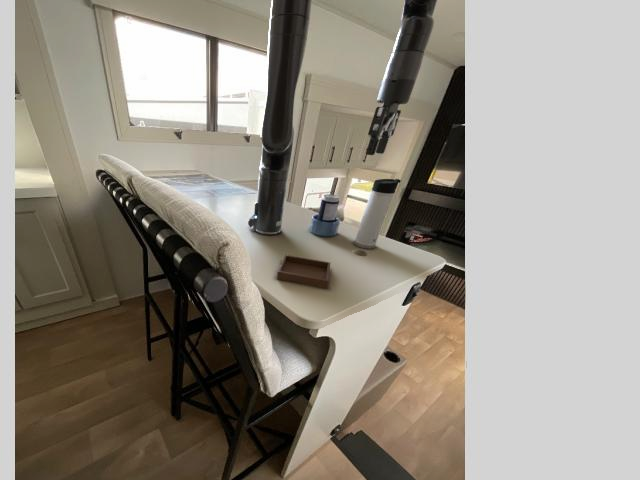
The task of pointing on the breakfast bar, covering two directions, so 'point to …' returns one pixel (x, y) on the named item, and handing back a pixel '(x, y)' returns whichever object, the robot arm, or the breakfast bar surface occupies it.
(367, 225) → the travel mug
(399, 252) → the breakfast bar surface
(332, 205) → the beverage can
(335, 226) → the bowl
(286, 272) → the tray
